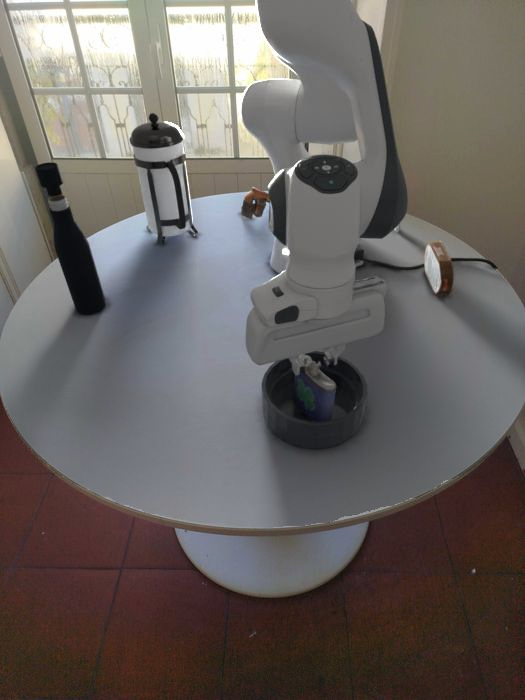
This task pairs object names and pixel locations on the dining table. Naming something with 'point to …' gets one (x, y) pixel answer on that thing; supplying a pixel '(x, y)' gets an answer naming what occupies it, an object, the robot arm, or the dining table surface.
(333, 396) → the flask
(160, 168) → the coffee press
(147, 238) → the dining table surface
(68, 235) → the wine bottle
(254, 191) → the orange brown figure
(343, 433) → the black screw cap
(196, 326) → the dining table surface
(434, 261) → the tin
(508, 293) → the dining table surface
